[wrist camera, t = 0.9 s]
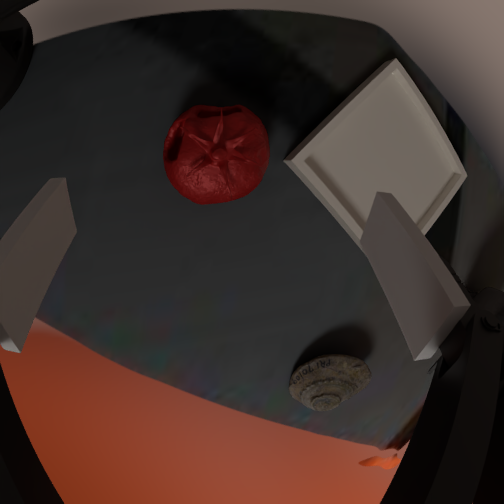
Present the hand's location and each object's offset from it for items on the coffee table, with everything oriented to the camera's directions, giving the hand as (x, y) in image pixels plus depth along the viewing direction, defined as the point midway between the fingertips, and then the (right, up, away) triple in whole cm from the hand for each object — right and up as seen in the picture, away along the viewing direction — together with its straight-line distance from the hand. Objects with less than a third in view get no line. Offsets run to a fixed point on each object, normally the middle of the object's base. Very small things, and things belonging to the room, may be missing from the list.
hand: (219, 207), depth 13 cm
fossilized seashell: (+12, -19, +32) cm, 39 cm away
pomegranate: (-3, +8, +20) cm, 22 cm away
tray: (+18, +9, +25) cm, 32 cm away
